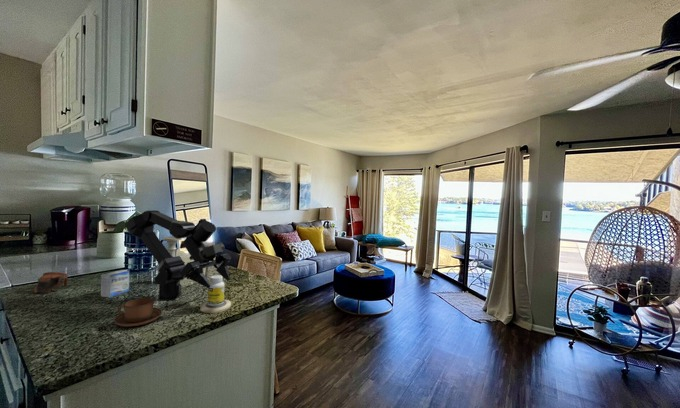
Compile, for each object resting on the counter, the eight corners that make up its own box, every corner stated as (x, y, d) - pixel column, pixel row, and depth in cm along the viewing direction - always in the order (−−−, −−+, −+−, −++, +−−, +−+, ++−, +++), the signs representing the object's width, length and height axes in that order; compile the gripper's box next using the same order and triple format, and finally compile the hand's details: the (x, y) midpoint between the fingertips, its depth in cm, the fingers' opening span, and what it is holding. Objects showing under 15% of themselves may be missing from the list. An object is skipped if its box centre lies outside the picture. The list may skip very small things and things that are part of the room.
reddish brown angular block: (25, 294, 106) (34, 273, 110) (53, 298, 114) (61, 278, 118) (47, 289, 103) (56, 268, 107) (75, 293, 111) (82, 273, 115)
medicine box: (109, 298, 104) (110, 275, 104) (100, 296, 105) (100, 274, 105) (129, 291, 112) (129, 270, 112) (120, 290, 113) (120, 269, 112)
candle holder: (156, 281, 125) (157, 237, 125) (176, 277, 133) (177, 235, 132) (165, 285, 121) (166, 239, 120) (185, 280, 128) (186, 237, 128)
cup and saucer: (107, 333, 78) (108, 311, 78) (121, 316, 89) (122, 297, 89) (157, 326, 83) (157, 306, 83) (164, 311, 94) (165, 293, 94)
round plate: (196, 313, 93) (196, 309, 93) (205, 302, 102) (205, 299, 102) (227, 312, 94) (227, 308, 94) (233, 301, 104) (233, 298, 104)
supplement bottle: (204, 306, 96) (205, 278, 96) (212, 300, 101) (213, 274, 101) (219, 306, 96) (220, 279, 96) (226, 301, 101) (227, 275, 101)
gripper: (187, 238, 91) (212, 276, 87) (228, 233, 108) (250, 264, 105) (169, 259, 94) (192, 296, 90) (212, 251, 111) (233, 281, 107)
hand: (219, 283), depth 98 cm, fingers open, 9 cm apart
